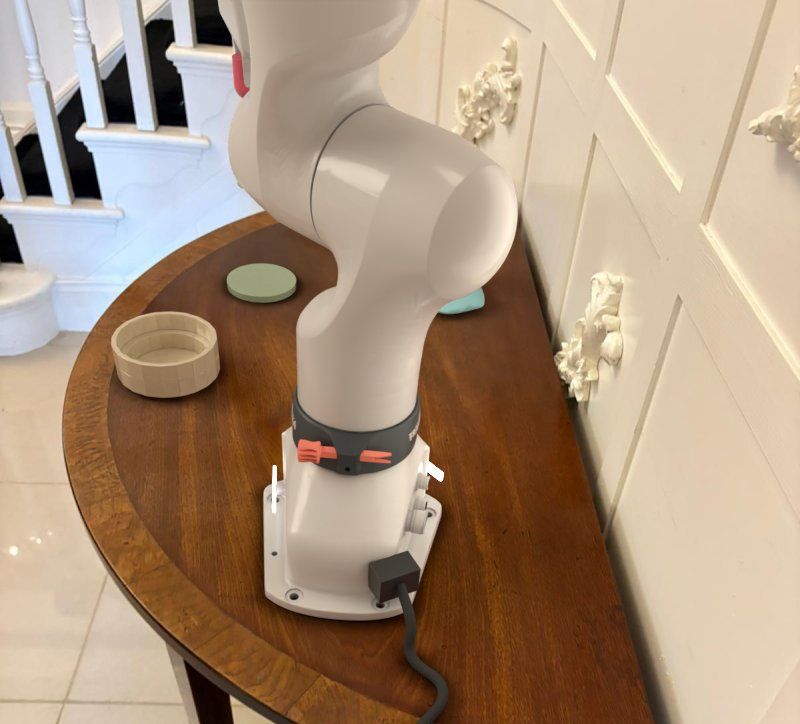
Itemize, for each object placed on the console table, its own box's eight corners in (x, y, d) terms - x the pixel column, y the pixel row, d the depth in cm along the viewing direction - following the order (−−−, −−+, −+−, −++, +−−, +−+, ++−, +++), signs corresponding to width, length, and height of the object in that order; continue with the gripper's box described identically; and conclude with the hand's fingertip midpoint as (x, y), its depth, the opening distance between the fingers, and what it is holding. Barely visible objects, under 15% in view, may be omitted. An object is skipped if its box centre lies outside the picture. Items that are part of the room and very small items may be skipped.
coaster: (290, 306, 111) (290, 299, 111) (220, 299, 111) (219, 292, 111) (301, 272, 118) (301, 266, 118) (235, 266, 118) (234, 260, 118)
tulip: (267, 192, 103) (261, 63, 92) (234, 189, 103) (224, 59, 92) (273, 179, 106) (268, 52, 95) (241, 176, 106) (231, 49, 95)
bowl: (207, 406, 94) (203, 370, 90) (105, 396, 93) (96, 360, 90) (229, 351, 102) (226, 316, 99) (135, 342, 102) (129, 307, 99)
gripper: (198, -80, 92) (210, 54, 101) (222, -43, 78) (234, 108, 88) (252, -78, 93) (259, 54, 103) (285, -41, 80) (290, 106, 90)
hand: (248, 79), depth 95 cm, fingers closed on tulip, 3 cm apart
